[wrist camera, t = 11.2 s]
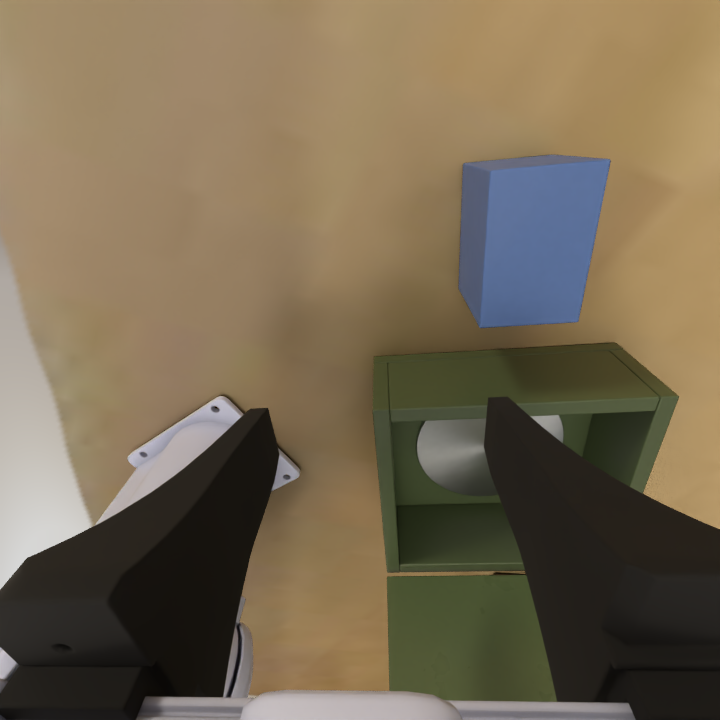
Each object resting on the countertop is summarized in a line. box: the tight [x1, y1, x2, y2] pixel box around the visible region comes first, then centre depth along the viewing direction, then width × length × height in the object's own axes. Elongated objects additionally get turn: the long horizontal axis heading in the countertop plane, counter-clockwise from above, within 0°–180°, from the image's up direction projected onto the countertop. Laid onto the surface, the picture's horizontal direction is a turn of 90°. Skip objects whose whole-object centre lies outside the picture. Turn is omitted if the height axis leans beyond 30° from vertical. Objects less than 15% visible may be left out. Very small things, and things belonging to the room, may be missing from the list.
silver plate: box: [416, 415, 564, 496], centre depth 25 cm, size 9×9×1 cm
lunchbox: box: [373, 343, 679, 573], centre depth 23 cm, size 13×14×5 cm
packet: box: [459, 155, 611, 328], centre depth 17 cm, size 6×4×5 cm, turn 5°
